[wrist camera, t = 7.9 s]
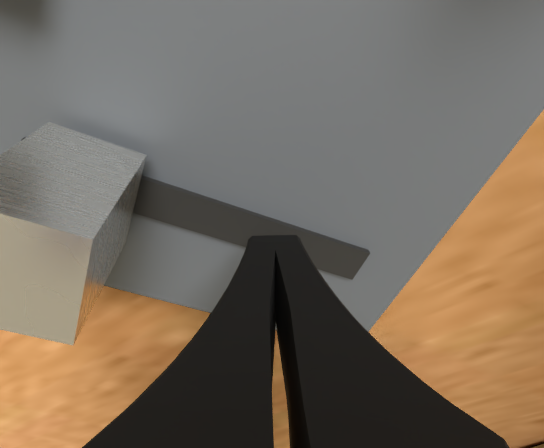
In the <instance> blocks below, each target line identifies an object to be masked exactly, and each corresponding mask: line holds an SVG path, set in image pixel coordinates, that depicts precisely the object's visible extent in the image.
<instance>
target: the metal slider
mask: <svg viewBox="0 0 544 448" xmlns="http://www.w3.org/2000/svg"><path fill="white" fill-rule="evenodd" d="M146 156H147V155H145V154H142V153H139V152H136V151H133V150H130V149H127V148H124V147H121V146H118V145H115V144H113V143H110V142H107V141H104V140H101V139H98V138H95V137H92V136H89V135H86V134H83V133H80V132H78V131H75V130H72V129H69V128H66V127H63V126H60V125H57V124H54V123H51V122H48V123H47V124H45V125H44V126H42V127H41V128H39V129H38V130H36V131H35V132H33V133H32V134H31V135H29V136H28V137H26V138H25V139H23V140H22V141H20V142H19V143H17V144H16V145H14V146H13V147H11V148H10V149H8V150H7V151H5V152H4V153H3V154H1V155H0V330H5V331H10V332H14V333H19V334H23V335H28V336H32V337H37V338H42V339H46V340H51V341H55V342H60V343H65V344H69V345H74V343H75V341H76V339H77V337H78V335H79V333H80V331H81V329H82V327H83V325H84V323H85V321H86V319H87V317H88V315H89V313H90V312H91V310H92V308H93V306H94V304H95V302H96V300H97V298H98V296H99V294H100V292H101V290H102V288H103V286H104V284H105V282H106V280H107V278H108V276H109V274H110V272H111V270H112V268H113V266H114V264H115V262H116V260H117V258H118V256H119V254H120V252H121V250H122V248H123V246H124V245H125V243H126V239H127V235H128V230H129V226H130V222H131V218H132V214H133V210H134V206H135V202H136V197H137V193H138V189H139V185H140V181H141V177H142V173H143V169H144V164H145V160H146Z"/></svg>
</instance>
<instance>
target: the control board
mask: <svg viewBox="0 0 544 448" xmlns="http://www.w3.org/2000/svg"><path fill="white" fill-rule="evenodd" d="M543 109H544V0H0V155H1V154H3V153H4V152H5V151H7V150H8V149H10V148H11V147H13V146H14V145H16V144H17V143H19V142H20V141H22V140H23V139H25V138H26V137H28V136H29V135H31V134H32V133H33V132H35V131H36V130H38V129H39V128H41V127H42V126H44V125H45V124H47V123H48V122H51V123H54V124H57V125H60V126H63V127H66V128H69V129H72V130H75V131H78V132H80V133H83V134H86V135H89V136H92V137H95V138H98V139H101V140H104V141H107V142H110V143H113V144H115V145H118V146H121V147H124V148H127V149H130V150H133V151H136V152H139V153H142V154H145V155H147V156H146V160H145V164H144V169H143V173H142V177H141V181H140V185H139V189H138V193H137V197H136V202H135V206H134V210H133V214H132V218H131V222H130V226H129V230H128V235H127V239H126V243H125V245H124V246H123V248H122V250H121V252H120V254H119V256H118V258H117V260H116V262H115V264H114V266H113V268H112V270H111V272H110V274H109V276H108V278H107V280H106V282H105V284H104V286H108V287H112V288H116V289H120V290H124V291H127V292H131V293H135V294H139V295H143V296H147V297H151V298H155V299H159V300H162V301H166V302H170V303H174V304H178V305H182V306H186V307H190V308H194V309H197V310H201V311H205V312H209V313H211V312H212V311H213V309H214V308H215V306H216V305H217V303H218V302H219V300H220V298H221V297H222V295H223V293H224V292H225V290H226V289H227V287H228V285H229V283H230V281H231V279H232V278H233V276H234V274H235V272H236V270H237V268H238V266H239V264H240V261H241V259H242V257H243V255H244V252H245V249H246V246H247V243H248V239H249V238H250V237H252V236H264V235H297V236H298V237H299V238H300V239H301V242H302V244H303V246H304V248H305V250H306V251H307V253H308V255H309V257H310V258H311V260H312V262H313V263H314V265H315V266H316V268H317V270H318V271H319V273H320V274H321V275H322V277H323V278H324V280H325V281H326V282H327V284H328V285H329V287H330V288H331V289H332V291H333V292H334V293H335V295H336V296H337V297H338V298H339V300H340V301H341V302H342V303H343V305H344V306H345V307H346V308H347V309H348V311H349V312H350V313H351V314H352V315H353V316H354V317H355V319H356V320H357V321H358V322H359V323H360V324H361V325H362V326H363V327H364V328H365V329H366V330H367V331H368V332H369V330H370V329H371V328H372V326H373V325H374V324H375V323H376V321H377V320H378V319H379V318H380V316H381V315H382V314H383V313H384V311H385V310H386V309H387V307H388V306H389V305H390V304H391V302H392V301H393V300H394V299H395V297H396V296H397V295H398V293H399V292H400V291H401V290H402V288H403V287H404V286H405V285H406V283H407V282H408V281H409V280H410V278H411V277H412V276H413V274H414V273H415V272H416V271H417V269H418V268H419V267H420V266H421V264H422V263H423V262H424V260H425V259H426V258H427V257H428V255H429V254H430V253H431V252H432V250H433V249H434V248H435V247H436V245H437V244H438V243H439V241H440V240H441V239H442V238H443V236H444V235H445V234H446V233H447V231H448V230H449V229H450V227H451V226H452V225H453V224H454V222H455V221H456V220H457V219H458V217H459V216H460V215H461V214H462V212H463V211H464V210H465V208H466V207H467V206H468V205H469V203H470V202H471V201H472V200H473V198H474V197H475V196H476V195H477V193H478V192H479V191H480V189H481V188H482V187H483V186H484V184H485V183H486V182H487V181H488V179H489V178H490V177H491V175H492V174H493V173H494V172H495V170H496V169H497V168H498V167H499V165H500V164H501V163H502V162H503V160H504V159H505V158H506V156H507V155H508V154H509V153H510V151H511V150H512V149H513V148H514V146H515V145H516V144H517V142H518V141H519V140H520V139H521V137H522V136H523V135H524V134H525V132H526V131H527V130H528V129H529V127H530V126H531V125H532V123H533V122H534V121H535V120H536V118H537V117H538V116H539V115H540V113H541V112H542V111H543ZM275 330H277V328H276V327H275Z"/></svg>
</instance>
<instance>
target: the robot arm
mask: <svg viewBox="0 0 544 448" xmlns="http://www.w3.org/2000/svg"><path fill="white" fill-rule="evenodd" d="M275 327H276V328H277V335H278V342H279V349H280V356H281V362H282V369H283V376H284V383H285V390H286V397H287V407H288V419H289V437H290V448H509V446H508V445H507V443H506V441H505V440H504V439H503V438H502V437H500V436H499V435H497V434H496V433H494V432H493V431H491V430H490V429H488V428H487V427H486V426H484V425H483V424H481V423H480V422H478V421H477V420H475V419H474V418H472V417H471V416H469V415H468V414H466V413H465V412H464V411H462V410H461V409H459V408H458V407H456V406H455V405H453V404H452V403H450V402H449V401H448V400H446V399H445V398H444V397H442V396H441V395H440V394H438V393H437V392H436V391H435V390H433V389H432V388H431V387H429V386H428V385H427V384H425V383H424V382H423V381H422V380H420V379H419V378H418V377H417V376H416V375H415V374H413V373H412V372H411V371H410V370H409V369H408V368H406V367H405V366H404V365H403V364H402V363H401V362H400V361H398V360H397V359H396V358H395V357H394V356H393V355H391V354H390V353H389V352H388V351H387V350H386V349H385V348H384V347H383V346H382V345H381V344H380V343H379V342H378V341H377V340H376V339H375V338H374V337H372V336H371V335H370V333H369V332H368V331H367V330H366V329H365V328H364V327H363V326H362V325H361V324H360V323H359V322H358V321H357V320H356V319H355V317H354V316H353V315H352V314H351V313H350V312H349V311H348V309H347V308H346V307H345V306H344V305H343V303H342V302H341V301H340V300H339V298H338V297H337V296H336V295H335V293H334V292H333V291H332V289H331V288H330V287H329V285H328V284H327V282H326V281H325V280H324V278H323V277H322V275H321V274H320V273H319V271H318V270H317V268H316V266H315V265H314V263H313V262H312V260H311V258H310V257H309V255H308V253H307V251H306V250H305V248H304V246H303V244H302V242H301V239H300V238H299V237H298V236H297V235H264V236H252V237H250V238H249V239H248V243H247V246H246V249H245V252H244V255H243V257H242V259H241V261H240V264H239V266H238V268H237V270H236V272H235V274H234V276H233V278H232V279H231V281H230V283H229V285H228V287H227V289H226V290H225V292H224V293H223V295H222V297H221V298H220V300H219V302H218V303H217V305H216V306H215V308H214V309H213V311H212V312H211V314H210V315H209V317H208V318H207V320H206V321H205V322H204V324H203V325H202V327H201V328H200V329H199V330H198V332H197V333H196V334H195V336H194V337H193V338H192V340H191V341H190V342H189V343H188V344H187V346H186V347H185V348H184V349H183V350H182V351H181V353H180V354H179V355H178V356H177V357H176V359H175V360H174V361H173V362H172V363H171V364H170V365H169V366H168V368H167V369H166V370H165V371H164V372H163V373H162V374H161V375H160V376H159V377H158V378H157V379H156V380H155V381H154V382H153V383H152V384H151V385H150V386H149V387H148V388H147V389H146V390H145V391H144V392H143V393H142V394H141V395H140V396H139V397H138V398H137V399H136V400H135V401H134V402H133V403H132V404H131V405H130V406H129V407H128V408H127V409H126V410H125V411H123V412H122V413H121V414H120V415H119V416H118V417H117V418H116V419H114V420H113V421H112V422H111V423H110V424H109V425H107V426H106V427H105V428H104V429H103V430H102V431H101V432H99V433H98V434H97V435H96V436H95V437H94V438H93V439H91V440H90V441H89V442H88V443H87V444H86V445H85V446H83V447H82V448H274V443H273V415H272V377H273V361H274V344H275Z"/></svg>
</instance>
